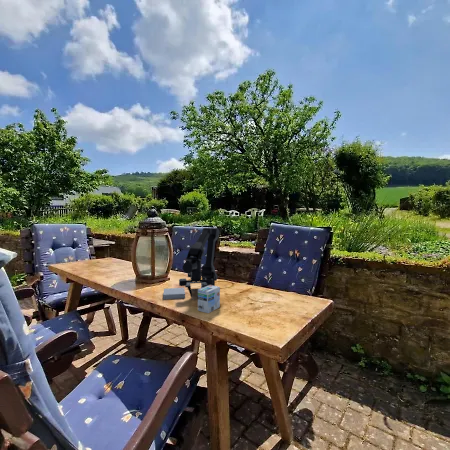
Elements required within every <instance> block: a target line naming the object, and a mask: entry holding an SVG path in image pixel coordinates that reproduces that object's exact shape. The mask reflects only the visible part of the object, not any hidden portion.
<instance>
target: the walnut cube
mask: <svg viewBox="0 0 450 450" xmlns="http://www.w3.org/2000/svg"><path fill="white" fill-rule="evenodd" d="M198 289H201V287H200V288H198V287H197V288H191V293H192V297H191V296H190V298H191V301H198Z"/></svg>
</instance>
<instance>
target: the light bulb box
mask: <svg viewBox="0 0 450 450" xmlns="http://www.w3.org/2000/svg"><path fill="white" fill-rule="evenodd" d="M220 292H221V287H220V286H219V285H218V286H217V285H215V286H213V285H208V286H206V287H203V288H201V287H200V289H198V300H197V311H199V312H201V313H205V314H210V313H212V312H213V311H216V310H217V309H219V308H220V307H221V306H220V305H221V304H220V303H221V301H220V299H221V298H220V297H221V293H220Z"/></svg>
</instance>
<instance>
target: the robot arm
mask: <svg viewBox="0 0 450 450" xmlns="http://www.w3.org/2000/svg"><path fill="white" fill-rule="evenodd" d="M219 235H220V229H219V228H218V227H209V226H208V227H203V228H202V232H201V233H200V235H199V237H198V238H197V241H196V242H195V243H194V244H192V245H191V247H189V250H188V252H187V255H186V258H185V259H186V260H185V262H184V263H183V264H182V270H183V272H184V273H186V274H187V278H190V279H187V278H179V279H178V286H179V287H184V288H187V290H188V292H189V295H190V298H191V297H192V293H191V289H192V285H191V284H200V289H201V288H203V287H206V286H208V285H213V286H216V281H217V280H218V274H217V273H216V267H215V266H214V259H215V258H214V257H215V249H216V241H218V239H219ZM206 243H207V246H206V256H205V264H204V265H202V261H203V256H204V253H205V249H204V247H205V245H206Z"/></svg>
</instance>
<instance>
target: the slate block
mask: <svg viewBox="0 0 450 450" xmlns="http://www.w3.org/2000/svg"><path fill="white" fill-rule="evenodd" d="M162 295H163V300H174V299H186V291H185V287H174V288H173V287H171V288H163V294H162Z"/></svg>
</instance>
